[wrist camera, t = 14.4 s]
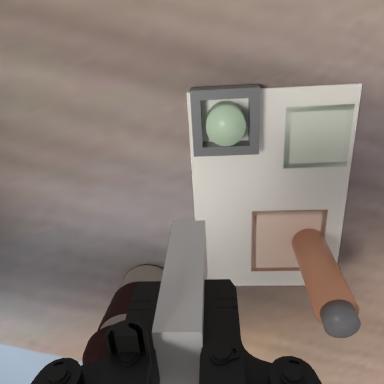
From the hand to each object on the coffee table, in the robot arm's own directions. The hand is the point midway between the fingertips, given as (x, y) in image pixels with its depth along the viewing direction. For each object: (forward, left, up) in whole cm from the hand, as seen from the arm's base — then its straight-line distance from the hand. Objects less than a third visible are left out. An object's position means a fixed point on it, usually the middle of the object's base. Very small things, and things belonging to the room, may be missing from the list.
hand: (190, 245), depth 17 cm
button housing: (+2, 0, -25) cm, 25 cm away
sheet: (+7, -10, -25) cm, 28 cm away
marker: (+12, -16, -24) cm, 32 cm away
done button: (+2, 0, -25) cm, 25 cm away
